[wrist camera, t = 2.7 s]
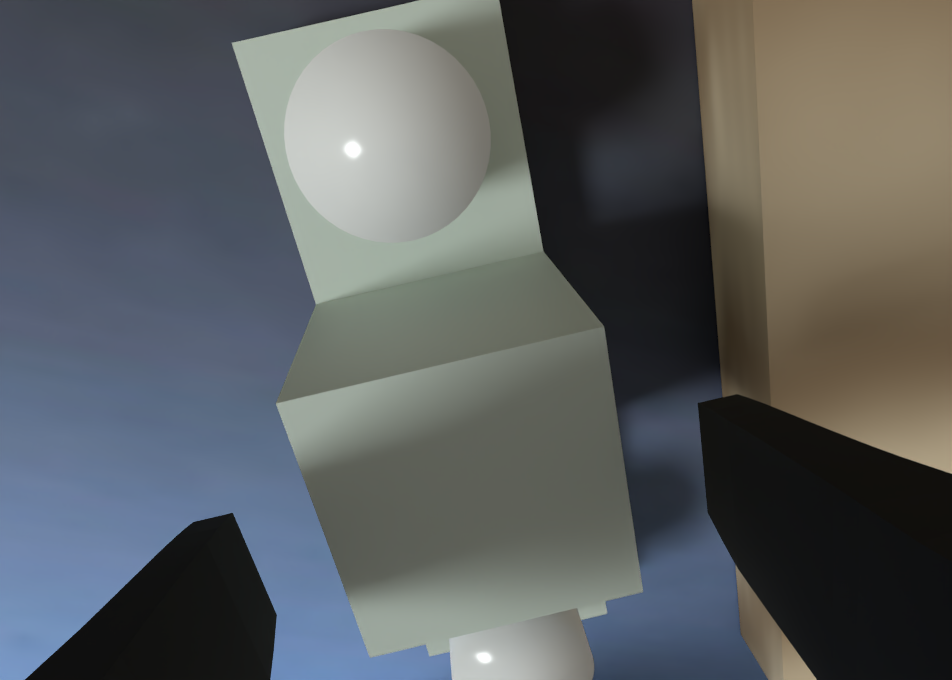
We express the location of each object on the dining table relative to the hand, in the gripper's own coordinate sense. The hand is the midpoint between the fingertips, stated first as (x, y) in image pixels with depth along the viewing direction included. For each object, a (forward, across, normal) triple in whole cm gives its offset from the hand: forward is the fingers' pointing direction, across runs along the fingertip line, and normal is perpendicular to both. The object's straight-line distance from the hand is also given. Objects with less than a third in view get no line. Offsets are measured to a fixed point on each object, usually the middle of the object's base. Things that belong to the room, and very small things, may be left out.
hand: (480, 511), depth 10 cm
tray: (+6, 0, 0) cm, 6 cm away
